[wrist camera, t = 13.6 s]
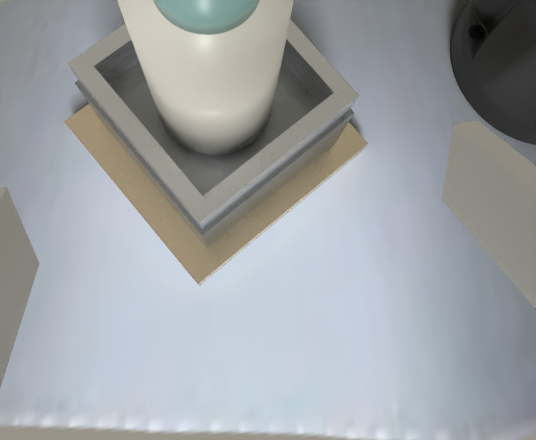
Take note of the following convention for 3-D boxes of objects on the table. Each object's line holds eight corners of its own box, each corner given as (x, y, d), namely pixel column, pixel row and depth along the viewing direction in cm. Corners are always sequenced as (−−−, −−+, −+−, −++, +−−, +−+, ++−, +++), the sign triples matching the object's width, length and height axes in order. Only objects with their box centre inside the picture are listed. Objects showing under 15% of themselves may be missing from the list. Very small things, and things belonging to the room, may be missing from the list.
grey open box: (361, 151, 39) (407, 94, 29) (199, 285, 36) (187, 275, 26) (237, 12, 40) (239, -90, 30) (72, 131, 38) (13, 63, 27)
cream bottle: (295, 107, 31) (337, -22, 19) (206, 177, 30) (190, 87, 18) (222, 25, 31) (217, -152, 19) (132, 90, 30) (68, -55, 18)
